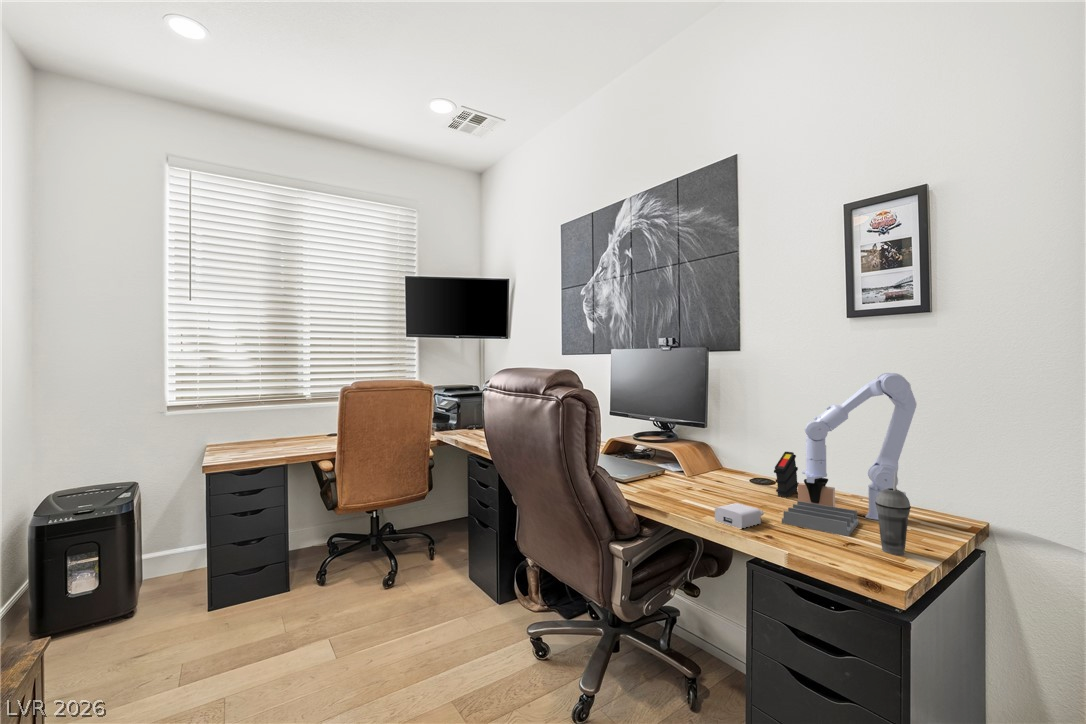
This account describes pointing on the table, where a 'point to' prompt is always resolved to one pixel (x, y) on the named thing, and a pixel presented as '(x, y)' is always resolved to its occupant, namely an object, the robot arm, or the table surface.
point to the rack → (821, 518)
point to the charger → (738, 515)
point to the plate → (825, 497)
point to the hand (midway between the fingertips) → (816, 501)
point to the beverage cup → (893, 519)
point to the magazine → (786, 475)
